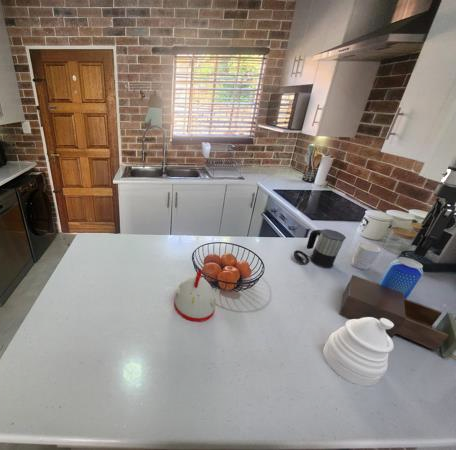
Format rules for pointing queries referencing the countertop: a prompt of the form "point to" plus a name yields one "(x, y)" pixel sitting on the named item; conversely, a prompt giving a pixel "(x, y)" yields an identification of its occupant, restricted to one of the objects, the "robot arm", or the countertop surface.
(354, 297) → the cabinet
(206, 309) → the white and red dome
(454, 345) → the drawer
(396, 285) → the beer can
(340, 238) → the milk frother
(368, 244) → the white cup
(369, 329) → the honey pot
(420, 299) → the countertop surface
